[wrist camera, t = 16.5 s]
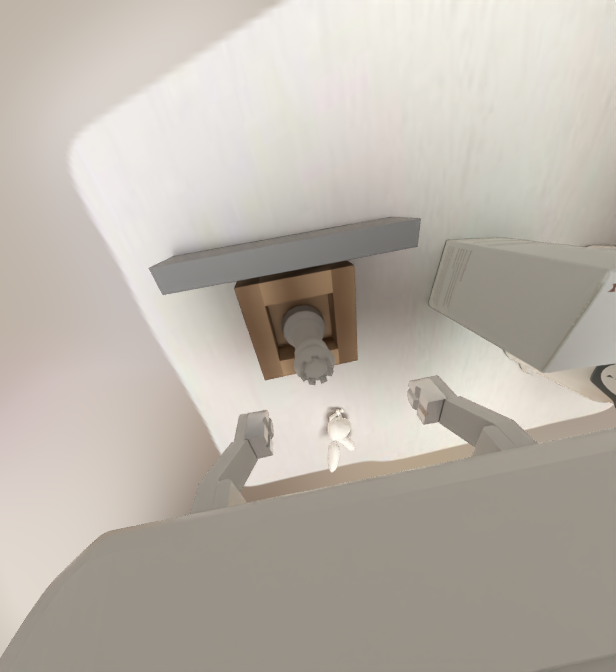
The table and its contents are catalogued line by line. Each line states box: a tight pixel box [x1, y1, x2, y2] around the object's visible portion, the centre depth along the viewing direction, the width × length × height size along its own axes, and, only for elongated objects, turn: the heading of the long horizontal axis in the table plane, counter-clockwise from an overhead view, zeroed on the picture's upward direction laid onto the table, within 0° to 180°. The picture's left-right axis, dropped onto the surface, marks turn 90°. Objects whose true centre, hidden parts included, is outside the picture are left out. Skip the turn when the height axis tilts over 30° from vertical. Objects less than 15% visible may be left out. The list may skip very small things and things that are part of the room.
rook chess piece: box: [281, 305, 335, 385], centre depth 19 cm, size 4×4×8 cm
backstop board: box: [149, 217, 421, 295], centre depth 18 cm, size 20×2×4 cm, turn 98°
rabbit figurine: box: [327, 408, 355, 472], centre depth 32 cm, size 6×4×8 cm
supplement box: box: [429, 238, 616, 373], centre depth 19 cm, size 7×7×13 cm
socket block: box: [234, 260, 358, 380], centre depth 22 cm, size 10×10×4 cm
